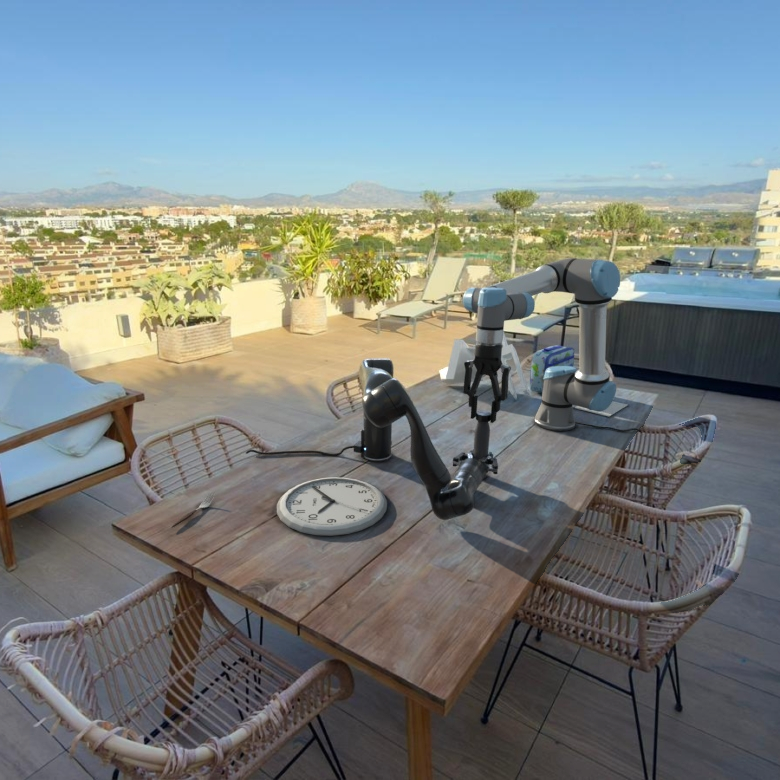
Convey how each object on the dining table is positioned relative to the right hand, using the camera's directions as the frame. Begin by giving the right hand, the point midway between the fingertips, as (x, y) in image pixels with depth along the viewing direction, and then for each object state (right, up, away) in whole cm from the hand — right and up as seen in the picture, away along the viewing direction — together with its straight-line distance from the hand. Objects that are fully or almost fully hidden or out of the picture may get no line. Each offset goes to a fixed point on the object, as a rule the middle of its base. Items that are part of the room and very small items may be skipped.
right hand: (483, 419), depth 156 cm
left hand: (+1, -11, +6) cm, 13 cm away
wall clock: (-44, -23, -13) cm, 51 cm away
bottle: (0, -18, +6) cm, 19 cm away
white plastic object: (+14, +8, +87) cm, 89 cm away
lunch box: (+48, +9, +92) cm, 105 cm away
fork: (-79, -24, -19) cm, 85 cm away
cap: (0, +2, -1) cm, 2 cm away
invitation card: (+64, +1, +70) cm, 95 cm away
